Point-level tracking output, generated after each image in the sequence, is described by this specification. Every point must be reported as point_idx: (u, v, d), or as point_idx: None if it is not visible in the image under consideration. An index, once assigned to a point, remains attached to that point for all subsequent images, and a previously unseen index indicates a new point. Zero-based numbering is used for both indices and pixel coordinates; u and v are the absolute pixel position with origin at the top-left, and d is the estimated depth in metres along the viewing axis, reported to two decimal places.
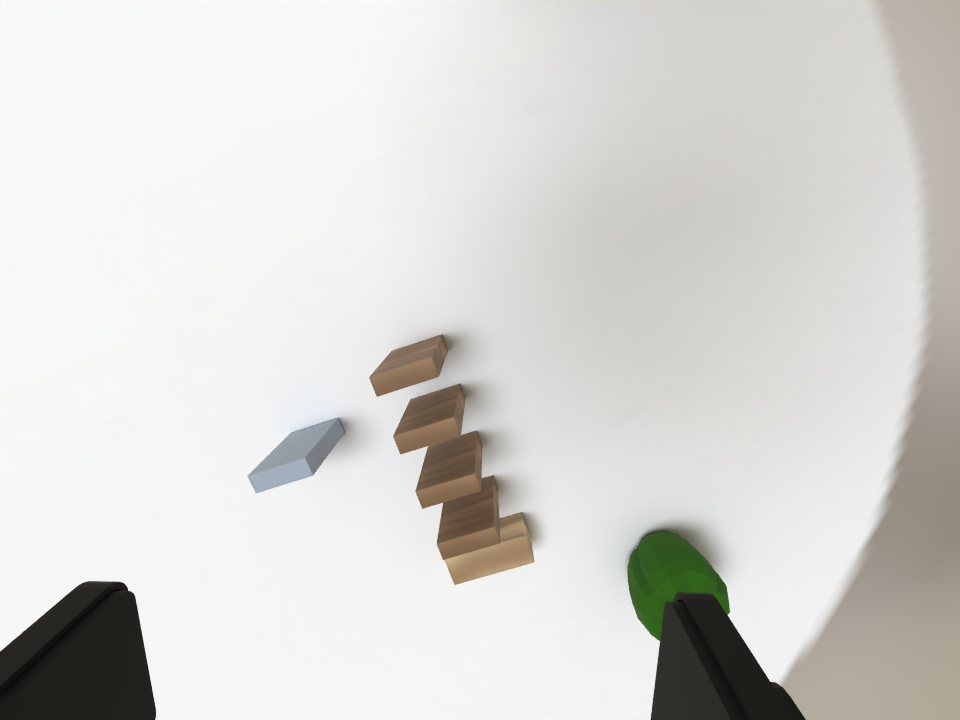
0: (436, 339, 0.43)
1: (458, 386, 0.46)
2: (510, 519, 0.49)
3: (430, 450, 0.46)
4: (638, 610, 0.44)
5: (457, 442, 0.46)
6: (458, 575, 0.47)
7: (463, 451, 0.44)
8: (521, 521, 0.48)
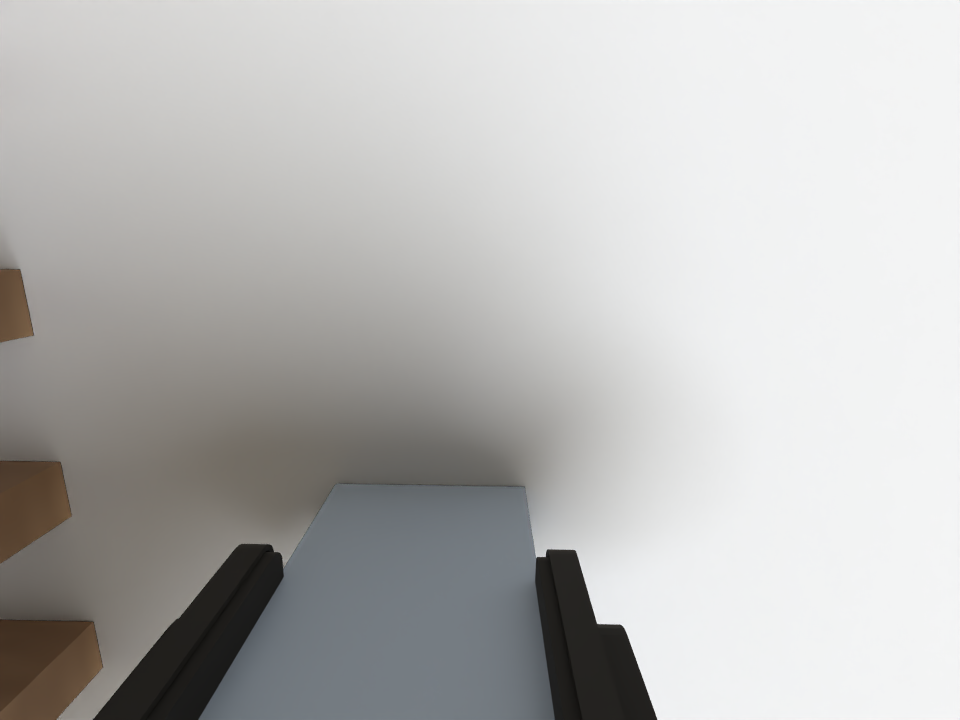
0: None
1: None
2: None
3: None
4: None
5: None
6: None
7: None
8: None
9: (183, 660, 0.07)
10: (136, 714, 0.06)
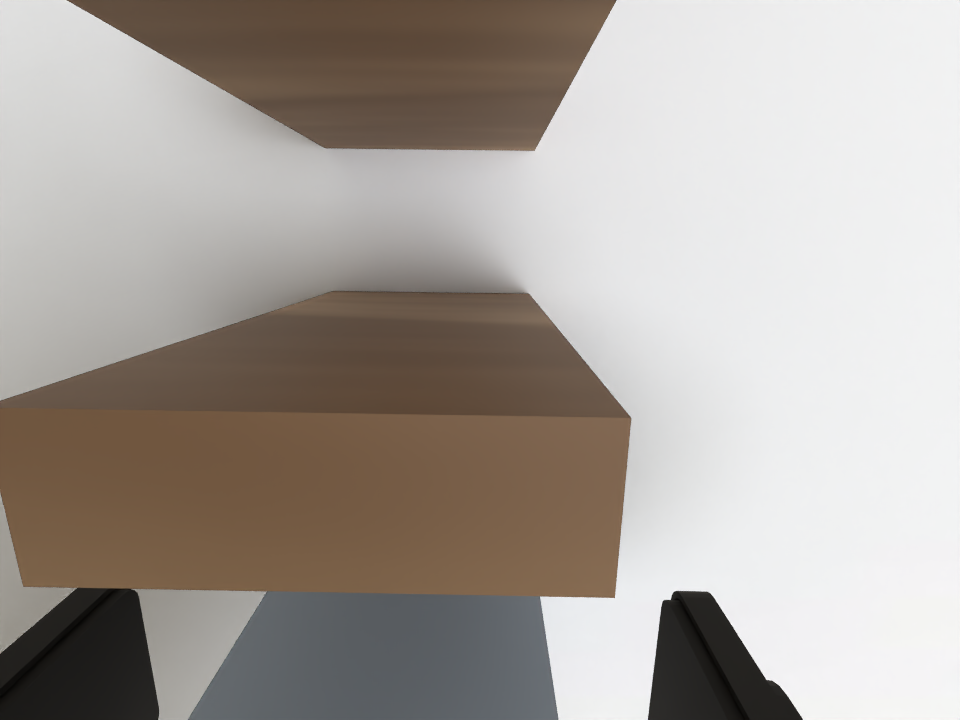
0: None
1: (318, 140, 0.11)
2: None
3: None
4: None
5: None
6: None
7: None
8: None
9: None
10: None
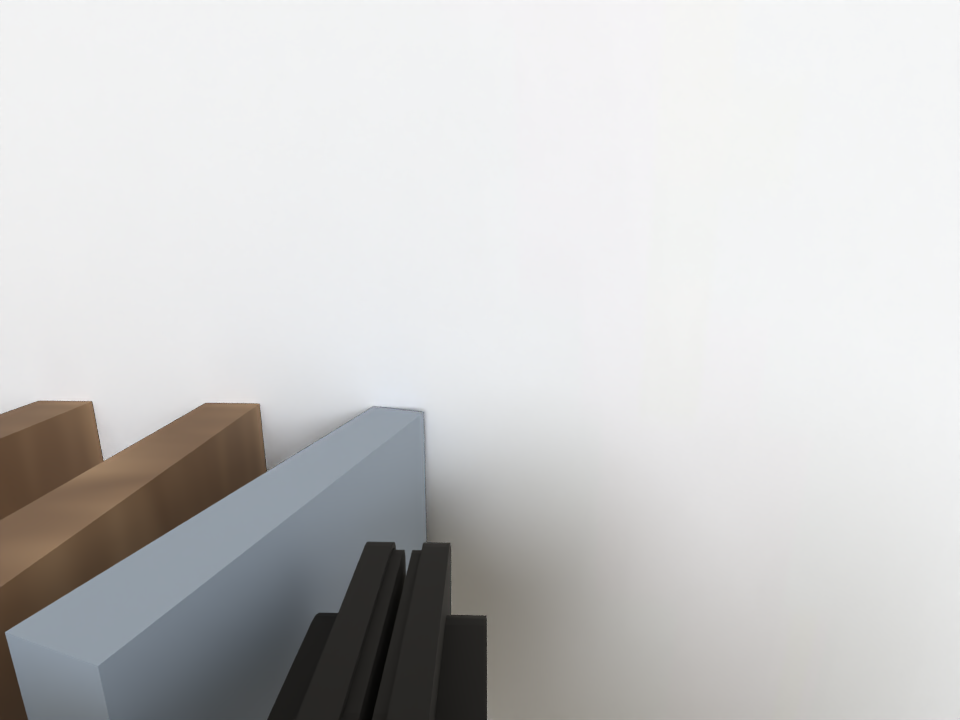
0: None
1: None
2: None
3: None
4: None
5: None
6: None
7: None
8: None
9: (355, 655, 0.07)
10: (335, 706, 0.06)
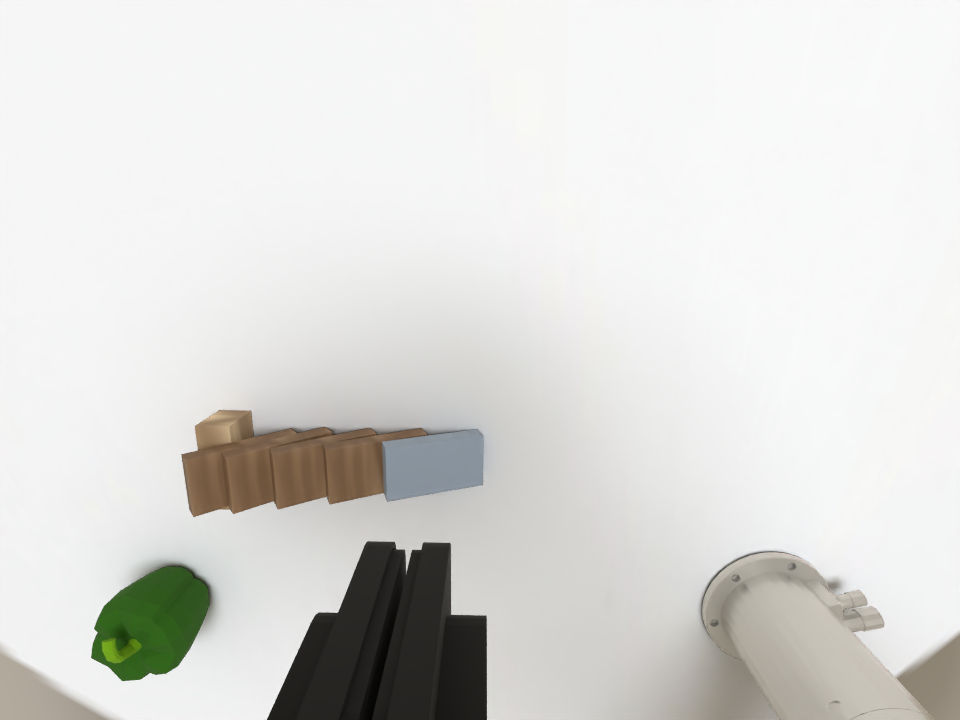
0: None
1: None
2: None
3: None
4: (136, 604, 0.43)
5: None
6: (205, 433, 0.42)
7: None
8: None
9: (354, 654, 0.07)
10: (335, 707, 0.06)
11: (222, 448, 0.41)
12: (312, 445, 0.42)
